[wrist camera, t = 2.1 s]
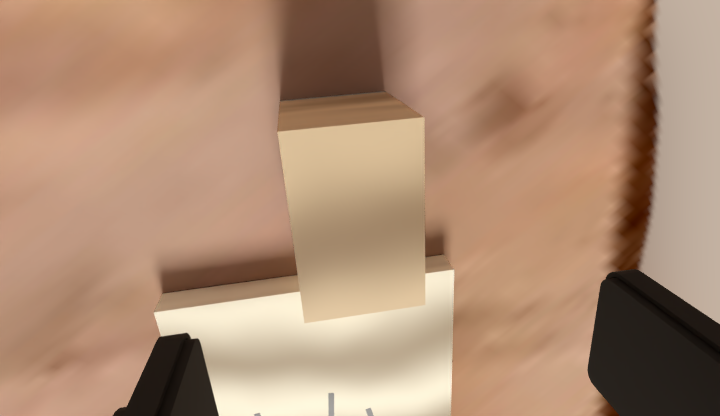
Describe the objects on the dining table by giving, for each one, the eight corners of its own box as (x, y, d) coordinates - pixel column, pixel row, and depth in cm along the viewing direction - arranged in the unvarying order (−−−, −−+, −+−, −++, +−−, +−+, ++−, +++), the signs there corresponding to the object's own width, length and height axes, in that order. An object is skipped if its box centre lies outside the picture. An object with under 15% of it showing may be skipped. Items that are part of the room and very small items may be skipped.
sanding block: (279, 100, 18) (277, 131, 13) (384, 90, 19) (424, 117, 13) (299, 246, 21) (304, 323, 16) (390, 234, 22) (425, 304, 16)
